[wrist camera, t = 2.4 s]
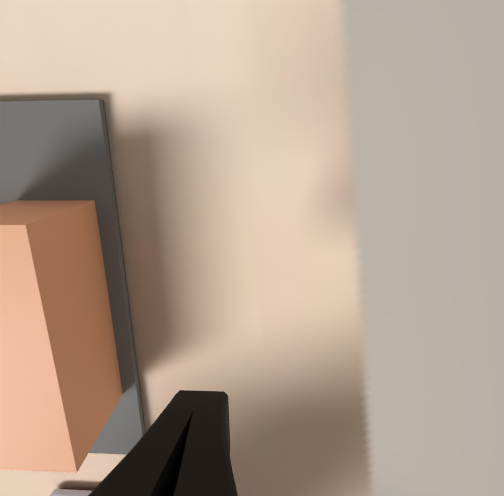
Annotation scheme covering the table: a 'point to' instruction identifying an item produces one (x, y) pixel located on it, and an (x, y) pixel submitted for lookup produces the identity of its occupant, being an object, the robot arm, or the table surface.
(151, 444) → the robot arm
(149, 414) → the table surface
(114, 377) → the t block
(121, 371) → the mat
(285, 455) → the table surface
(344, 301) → the table surface
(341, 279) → the table surface
